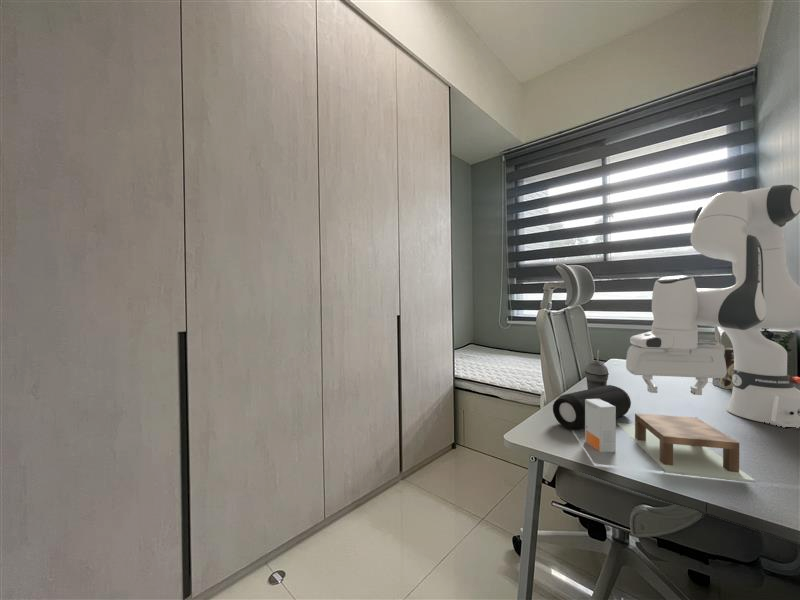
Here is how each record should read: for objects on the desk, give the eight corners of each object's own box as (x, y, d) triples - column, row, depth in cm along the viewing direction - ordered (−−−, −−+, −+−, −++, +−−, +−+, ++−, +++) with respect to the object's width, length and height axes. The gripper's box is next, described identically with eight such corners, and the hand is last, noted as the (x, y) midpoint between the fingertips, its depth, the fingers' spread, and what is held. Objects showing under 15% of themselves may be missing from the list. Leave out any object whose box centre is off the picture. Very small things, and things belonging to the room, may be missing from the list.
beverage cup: (601, 401, 114) (601, 347, 114) (613, 409, 107) (613, 351, 107) (581, 401, 115) (580, 347, 115) (591, 408, 108) (591, 351, 107)
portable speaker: (580, 436, 88) (580, 401, 87) (550, 423, 97) (549, 391, 96) (633, 419, 98) (634, 388, 98) (602, 409, 107) (602, 380, 107)
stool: (696, 417, 82) (739, 442, 68) (696, 442, 82) (739, 472, 68) (635, 413, 85) (663, 436, 72) (635, 437, 85) (663, 464, 72)
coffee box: (724, 389, 126) (725, 349, 126) (711, 384, 133) (712, 346, 132) (751, 389, 125) (751, 349, 125) (736, 385, 131) (737, 347, 131)
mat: (679, 429, 91) (679, 428, 91) (755, 482, 66) (755, 480, 66) (616, 424, 95) (616, 423, 95) (665, 472, 70) (665, 470, 70)
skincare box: (584, 443, 84) (584, 398, 83) (599, 442, 84) (599, 398, 84) (600, 454, 78) (600, 407, 77) (616, 453, 78) (616, 406, 78)
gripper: (714, 338, 80) (714, 391, 80) (623, 337, 85) (623, 387, 85) (734, 342, 74) (733, 400, 74) (634, 340, 79) (634, 394, 79)
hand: (673, 393), depth 80 cm, fingers open, 8 cm apart
